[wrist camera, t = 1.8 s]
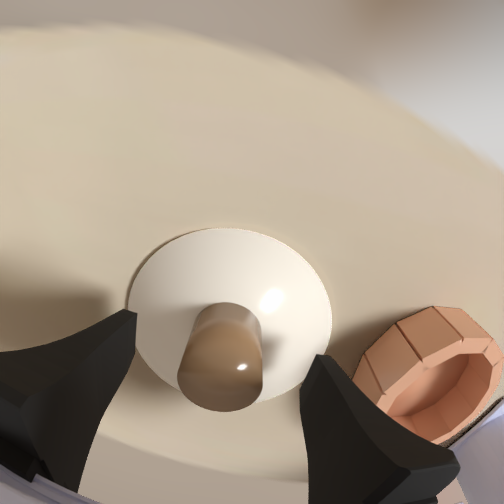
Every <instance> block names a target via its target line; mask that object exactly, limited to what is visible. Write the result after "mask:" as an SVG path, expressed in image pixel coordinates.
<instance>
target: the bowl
mask: <svg viewBox="0 0 504 504" xmlns="http://www.w3.org/2000/svg"><path fill="white" fill-rule="evenodd" d="M365 354H366V355H364V354H363V356H362V358H361V361H360V363H359V366H358V368H357V370H356V373H355V375H354V377H353V379H352V381H353V382H354V383H355V384H356V386H357V387H358V388H359V389H360V390H361V391H362V392H363V393H364V394H365V395H366V396H367V397H368V398H369V399H370V400H371V401H372V402H373V403H374V404H375V405H376V406H377V407H379V408H380V409H381V410H382V411H383V412H385V413H386V414H387V415H388V416H389V417H391V418H392V419H393V420H395V421H396V422H398V423H399V424H400V425H402V426H403V427H405V428H407V429H408V430H410V431H411V432H413V433H415V434H416V435H418V436H420V437H422V438H424V439H426V440H428V441H430V442H432V443H434V444H440V443H442V442H443V441H445V440H447V439H449V438H451V437H452V436H454V435H455V434H457V433H458V432H459V431H460V430H461V429H462V428H464V427H465V426H466V425H467V424H468V423H469V422H471V421H472V420H473V419H474V418H475V417H476V416H477V415H478V414H479V412H481V411H482V409H483V408H484V406H485V405H486V404H487V402H488V401H489V399H490V397H491V396H492V394H493V393H494V391H495V390H496V388H497V386H498V384H499V382H500V377H501V372H502V367H503V362H504V355H503V353H502V352H501V350H500V348H499V347H498V345H497V344H496V342H495V341H494V339H493V338H492V337H491V336H490V335H489V334H488V333H487V332H486V331H485V330H484V329H483V328H482V327H481V326H479V325H478V324H477V323H476V322H475V321H474V320H473V319H472V318H471V317H470V316H469V315H468V314H467V313H465V312H464V311H463V310H462V309H456V308H446V307H437V306H434V307H433V308H432V307H430V308H427V309H425V310H423V311H421V312H419V313H416V314H414V315H412V316H410V317H407V318H405V319H403V320H400V321H398V322H397V326H396V325H395V324H393V325H392V326H391V327H390V328H389V329H388V330H387V331H386V332H385V333H384V334H383V335H382V336H381V337H380V338H379V339H378V340H377V341H376V342H375V343H374V344H373V345H372V346H371V347H370V348H369V349H368V350H367V351H366V352H365Z"/></svg>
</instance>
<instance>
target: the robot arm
mask: <svg viewBox="0 0 504 504" xmlns="http://www.w3.org/2000/svg"><path fill="white" fill-rule="evenodd" d="M137 315H138V313H136V312H132V311H129V310H126V309H122V310H120V311H118V312H117V313H115V314H113V315H111V316H109V317H108V318H106V319H104V320H102V321H100V322H98V323H96V324H94V325H93V326H91V327H89V328H87V329H84V330H82V331H80V332H78V333H76V334H73V335H71V336H69V337H66V338H64V339H61V340H58V341H55V342H52V343H49V344H45V345H41V346H37V347H33V348H28V349H23V350H16V351H8V352H0V504H102V503H99V502H97V501H94V500H91V499H89V498H87V497H84V496H82V495H79V494H77V493H78V488H79V485H80V481H81V477H82V473H83V470H84V467H85V463H86V460H87V457H88V454H89V450H90V448H91V445H92V442H93V439H94V436H95V434H96V431H97V429H98V426H99V424H100V421H101V419H102V417H103V415H104V413H105V411H106V409H107V407H108V405H109V404H110V402H111V400H112V398H113V397H114V395H115V393H116V391H117V390H118V388H119V386H120V384H121V382H122V381H123V379H124V377H125V375H126V374H127V372H128V369H129V367H130V364H131V362H132V359H133V357H134V354H135V343H136V327H137ZM300 414H301V420H302V426H303V432H304V438H305V444H306V450H307V457H308V474H309V500H308V504H437V503H438V500H437V497H436V495H437V494H438V493H440V492H441V491H442V490H443V489H444V488H445V487H446V486H448V485H449V484H450V483H451V482H452V481H453V480H454V479H455V478H456V477H457V480H458V482H459V484H460V486H461V488H462V491H463V493H464V495H465V497H466V500H467V502H468V504H504V399H503V400H502V401H501V402H500V403H499V404H498V405H497V406H496V407H495V408H494V409H493V410H492V411H491V412H489V413H488V414H487V415H486V416H485V417H484V418H483V419H482V420H481V421H480V422H479V423H478V424H476V425H475V426H474V427H473V428H472V429H471V430H470V431H468V432H467V433H466V434H465V435H464V436H463V437H461V438H460V439H459V440H458V441H456V442H455V443H454V444H453V445H451V446H450V447H449V448H448V449H447V448H444V447H442V446H439V445H437V444H434V443H432V442H430V441H428V440H426V439H424V438H422V437H420V436H418V435H416V434H415V433H413V432H411V431H410V430H408V429H407V428H405V427H403V426H402V425H400V424H399V423H398V422H396V421H395V420H393V419H392V418H391V417H389V416H388V415H387V414H386V413H385V412H383V411H382V410H381V409H380V408H379V407H377V406H376V405H375V404H374V403H373V402H372V401H371V400H370V399H369V398H368V397H367V396H366V395H365V394H364V393H363V392H362V391H361V390H360V389H359V388H358V387H357V386H356V384H355V383H354V382H353V381H352V380H351V379H350V378H349V377H348V375H347V374H346V373H345V372H344V371H343V370H342V368H341V367H340V366H339V365H338V364H337V363H336V362H335V361H334V360H333V359H332V358H331V357H330V356H327V355H320V354H316V355H315V358H314V360H313V362H312V364H311V366H310V369H309V371H308V373H307V375H306V377H305V379H304V382H303V384H302V386H301V388H300ZM456 504H464V503H463V502H459V503H456Z"/></svg>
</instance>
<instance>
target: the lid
mask: <svg viewBox="0 0 504 504" xmlns="http://www.w3.org/2000/svg"><path fill="white" fill-rule="evenodd" d="M128 310H129V311H132V312H136V313H138V315H137V327H136V343H135V346H136V348H137V350H138V351H139V353H140V355H141V357H142V358H143V359H144V361H145V362H146V363H147V365H148V366H149V367H150V368H151V369H152V370H153V371H154V372H155V373H156V374H157V375H158V376H159V377H160V378H161V379H163V380H164V381H165V382H166V383H168V384H169V385H171V386H172V387H174V388H176V389H177V390H179V391H181V392H182V393H183V394H184V395H185V396H186V397H187V398H188V399H189V400H190V401H191V402H193V403H195V404H196V405H198V406H200V407H202V408H205V409H208V410H212V411H219V412H231V411H236V410H240V409H243V408H245V407H247V406H249V405H251V404H252V403H256V402H261V401H265V400H268V399H271V398H274V397H277V396H279V395H281V394H283V393H285V392H287V391H289V390H291V389H292V388H294V387H295V386H297V385H298V384H299V383H301V382H302V381H303V380H304V379H305V377H306V375H307V373H308V371H309V369H310V366H311V364H312V362H313V360H314V358H315V355H316V354H320V355H324V353H325V351H326V348H327V346H328V343H329V339H330V335H331V327H332V314H331V307H330V303H329V298H328V296H327V293H326V291H325V288H324V286H323V284H322V282H321V280H320V279H319V277H318V275H317V274H316V272H315V271H314V270H313V268H312V267H311V266H310V265H309V263H308V262H307V261H306V260H304V259H303V258H302V257H301V256H300V255H299V254H298V253H297V252H295V251H294V250H293V249H291V248H290V247H288V246H287V245H285V244H284V243H282V242H280V241H278V240H276V239H274V238H272V237H269V236H266V235H264V234H261V233H258V232H254V231H249V230H245V229H237V228H211V229H205V230H199V231H195V232H192V233H189V234H186V235H183V236H181V237H179V238H177V239H175V240H173V241H171V242H169V243H168V244H166V245H165V246H163V247H162V248H160V249H159V250H158V251H157V252H156V253H155V254H154V255H153V256H151V257H150V258H149V259H148V261H147V262H146V263H145V264H144V266H143V267H142V268H141V270H140V271H139V273H138V275H137V277H136V278H135V280H134V283H133V286H132V288H131V291H130V296H129V301H128Z"/></svg>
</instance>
